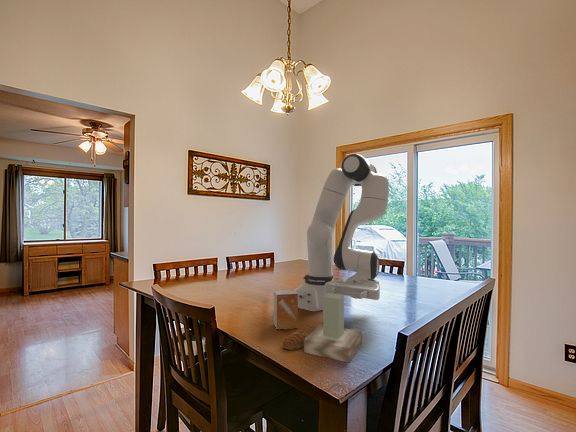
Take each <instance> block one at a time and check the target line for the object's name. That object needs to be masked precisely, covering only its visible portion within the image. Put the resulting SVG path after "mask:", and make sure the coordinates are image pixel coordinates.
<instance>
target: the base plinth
mask: <svg viewBox="0 0 576 432" xmlns="http://www.w3.org/2000/svg"><path fill="white" fill-rule="evenodd" d="M362 333H363V331H362V330H358V329H357V330H356V329H350V328H346V327H344V333H343V334H342V336H341V337H340V338H333V337H328V336H323V323H322V324H319V325H318V326H317V327H316V328H315V329H313V331H311V332H310V333H309V334H308V336H307V337H306V338H305V339H304V347H303V353H306V354H310V355H314V356H319V357H323V358H328V359H331V360H336V361H340V362H345V363H350V362H351V361H352V360H353V358H354V357H355V355H356V353H357V352H358V350H359V349H360V347H361V346H362V344H363V334H362Z"/></svg>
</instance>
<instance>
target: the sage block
mask: <svg viewBox="0 0 576 432" xmlns="http://www.w3.org/2000/svg"><path fill="white" fill-rule="evenodd" d="M344 298H345V295H341V294H333V293H328V294H326V295H325V296H323V310H322V322H323V323H322V324H323V336H328V337H333V338H340V337H341V336H342V334H343V333H344V328H345V302H344V300H345V299H344Z"/></svg>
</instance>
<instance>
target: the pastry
mask: <svg viewBox="0 0 576 432" xmlns="http://www.w3.org/2000/svg"><path fill="white" fill-rule="evenodd" d="M308 335H309V334H308V332H306V331H305V330H304V329H303V330H302V329H301V330H297V331H295V332H292V333H289V334H288V336H287V337H286V338H285V340H284V341H283V342H282V347H283V349H286V350H289V351H294V350H297V349H298V350H300V349H302V348H304V339H305V338H306V337H307V336H308ZM299 348H300V349H299Z"/></svg>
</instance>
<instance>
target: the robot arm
mask: <svg viewBox="0 0 576 432" xmlns="http://www.w3.org/2000/svg"><path fill="white" fill-rule="evenodd" d="M351 186H354V187H361V195H360V201H359V203H358V205H357V206H356V208H355V209H353V210H352V211H350V213H349V215H348V217H347V219H346V222H345V226H344V228H343V231H342V234H341V237H340V240H339V243H338V245H337V248H336V249H335V252H334V255H333V233H334V230H335V228H336V224H337V222H338V220H339V216H340V214H341V211H342V209H343V205H344V203H345V200H346V197H347V195H348V191H349V189H350V187H351ZM389 186H390V185H389V178H387V177H386V176H385V175H383V174H381V173H378V172H377V168H376V167H375V166H374V165H373V163H372V162H371V161H370V160H369V159H367V158H365V157H364V156H363V155H361V154H358V153H351V154H348V155H346V157H344V159H343V160H342V162H341V168H337V167H336V168H334V169H332V170H331V171H330V173H329V174H328V176H327V178H326V180H325V183H324V185H323V186H322V190H321V193H320V196H319V198H318V201H317V204H316V208H315V211H314V213H313V217H312V221H311V223H310V224H309V226H308V228H307V230H306V240H307V242H306V243H307V245H306V246H307V260H308V261H307V262H308V263H307V265H308V266H307V269H308V271H307V272H308V273H307V274H305V275H304V276H303V279H302V280H304V282H303V283H301V284H300V285H298V287H296V288H295V289H294V290H295V291H296V292H297V293H298V309H301V310H306V311H309V312H310V311H311V312H318V311H323V296H325V295H326V294H328V293H333V294H341V295H344V296H347V297H348V296H349V297H350V298H352V299H356V300H357V299H360V300H363V299H366V300H373V301H379V300H380V295H381V291H380V290H381V286H380V281H379V280H376V277H378V275H379V272H380V259H379V257H378V255H377V253H376V252H375V251H372V250H366V249H360V248H353V247H351V243H352V241H353V238H354V235H355V232H356V230H357V228H358V227H360V226H362V225H363V224H364V225H365V224H368V223H372V222H376V221H378V220H380V219H382V217H384V216H385V214H386V211H387V207H388V204H389V203H388V201H389V196H390V195H389V193H390V192H389V191H390V189H389V188H390V187H389ZM333 264H334V265H335V266H336V268H337V269H338V270H340V271H349V272H354V274H352V275H351V276H349V277H348V278H347V279H346V280H345V281H343V280H342V281H341V280H335V279H334V274H333Z"/></svg>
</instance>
